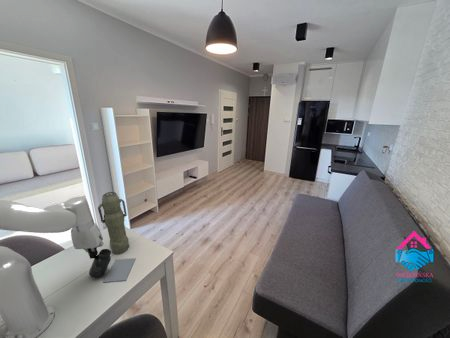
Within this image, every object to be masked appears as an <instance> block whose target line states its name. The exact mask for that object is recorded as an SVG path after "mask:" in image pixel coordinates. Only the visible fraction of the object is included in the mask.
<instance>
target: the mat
mask: <svg viewBox="0 0 450 338" xmlns="http://www.w3.org/2000/svg"><path fill="white" fill-rule="evenodd" d="M135 261H136V257H134V258H122V259H121V258H119V259H115V260H114V261H113V263H112V265H111V267H110V269H108V272H107V274H106V276H105V278H104V280H103V281H102V284H103V283H104V284H105V283H106V284H107V283H117V282H126V281H127V279H128V277H129V276H130V273H131V270H132V269H133V265H134V263H135Z"/></svg>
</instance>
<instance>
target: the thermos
mask: <svg viewBox="0 0 450 338" xmlns="http://www.w3.org/2000/svg"><path fill="white" fill-rule="evenodd" d="M121 202H122V207H121ZM101 208H102V209H103V213H104V215H103V214H102V210H101ZM122 208H123V210H122ZM97 210H98V214H99V217H100V222H101V223H103V224H105V227H106V228H107V233H108V237H109V247H110V251H111V253H112V254H113V255H114V256H115V255H117V256H118V255H122V254H124V253H125V252H127V251H128V250H129V249H130V244H129V243H130V242H129V238H128V235H127V231H126V228H125V227H126V226H125V218H126V217H127V214H128V213H127V209H126V203H125V200H124V199H122V198H120V197H119V195H118V193H117V192H115V191H108V192H106V193H103V195H102V198H101V203H100V204H99V205H98V207H97ZM128 248H129V249H128Z"/></svg>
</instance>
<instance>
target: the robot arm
mask: <svg viewBox="0 0 450 338" xmlns="http://www.w3.org/2000/svg"><path fill="white" fill-rule="evenodd" d="M0 230H1V231H10V232H14V231H15V232H24V233H25V232H26V233H33V234H35V233H38V234H50V233H51V234H53V233H54V234H55V233H57V234H58V233H64V232H68V231H69V230H70V238H71V240H72V241H71V242H72V245H73V247H74V249H75V250H84V252H86V253H87V254H88V256H89V259H92V260H93V259H94V258H95V257H96V256H97V255H98V254H99V251H98V248H100V247H103V245H104V242H103V240H104V238H103V235H102V231H101V230H100V228H99V226H98V225H97V222H96V223H95V221H94V218H93V215H92V211H91V209H90V206H89V201H88V199H87V198H86V197H84V196H76V197H72V198H69V199H68V200H65V201H63V202H60V203H55V204H53V205H48V206H46V207H44V208H37V207H33V206H29V205H25V204H23V203H19V202H16V201H12V200H7V199H6V200H4V199H0ZM55 316H56V312H55V308H54V307H53V306H51V305H46V302H45V301H44V299H43V296H42V293H41V291H40V289H39V287H38V284H37V282H36V280H35V278H34V275H33V269H32V265H31V263H30V262H29V260H28V259H27V258H26V257H24V256H23V255H22V254H20V253H18V252H16V251H14V250H13V249H11V248H9V247H7V246H3V245H0V317H1V318H2V321H3V322H4V324H5V325H6V326H5V327H7V329H8V330H7V332H6V333H5V338H38V337H39V336H40V335H41V334H42V333H43V332H44V331H46V330H47V329H48V327H49V326H50V325H51V324H52V322H53V321H54V319H55Z"/></svg>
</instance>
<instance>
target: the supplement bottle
mask: <svg viewBox="0 0 450 338" xmlns="http://www.w3.org/2000/svg"><path fill="white" fill-rule="evenodd" d="M111 253H112V250H111V249H108V248H104V249H103V248H102V249H101V250H100V251H98V254H97V255H96V257H95V258H93V261H92V264H91V266H90V268H89V271H88V275H89V277H91V278H93V279H100V278H102V277H103V276H105V274H106V272H107V270H108V267H109V264H110V263H111V260H112V256H111Z"/></svg>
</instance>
